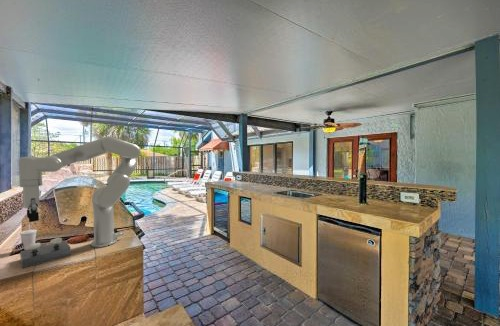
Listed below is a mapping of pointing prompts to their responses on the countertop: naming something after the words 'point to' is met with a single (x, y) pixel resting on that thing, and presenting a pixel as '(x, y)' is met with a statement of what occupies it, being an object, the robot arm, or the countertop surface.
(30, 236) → the smoothie
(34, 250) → the knob
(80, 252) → the countertop surface
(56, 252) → the housing
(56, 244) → the knob
